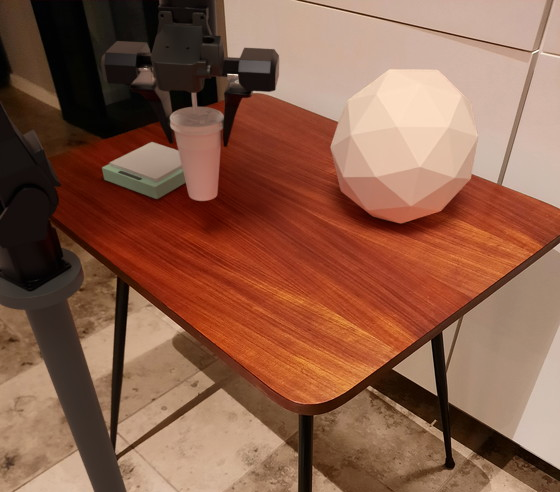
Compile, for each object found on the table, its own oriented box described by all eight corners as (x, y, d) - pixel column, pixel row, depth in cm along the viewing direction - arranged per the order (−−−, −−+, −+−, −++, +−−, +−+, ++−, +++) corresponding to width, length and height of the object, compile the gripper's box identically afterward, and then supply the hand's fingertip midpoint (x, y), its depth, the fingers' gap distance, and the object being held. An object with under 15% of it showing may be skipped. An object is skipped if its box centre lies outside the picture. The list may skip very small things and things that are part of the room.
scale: (156, 199, 84) (154, 183, 82) (104, 179, 88) (100, 163, 86) (203, 172, 90) (201, 156, 88) (152, 155, 94) (149, 140, 92)
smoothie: (217, 179, 75) (211, 64, 65) (235, 200, 71) (231, 81, 61) (171, 187, 73) (157, 70, 63) (186, 210, 69) (174, 88, 59)
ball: (419, 251, 88) (532, 172, 72) (324, 243, 75) (436, 146, 60) (381, 149, 92) (481, 55, 77) (286, 126, 80) (381, 8, 65)
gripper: (68, 3, 51) (102, 169, 62) (272, 13, 50) (269, 179, 61) (104, -21, 59) (129, 129, 70) (281, -13, 58) (277, 138, 69)
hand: (198, 144), depth 67 cm, fingers closed on smoothie, 6 cm apart
